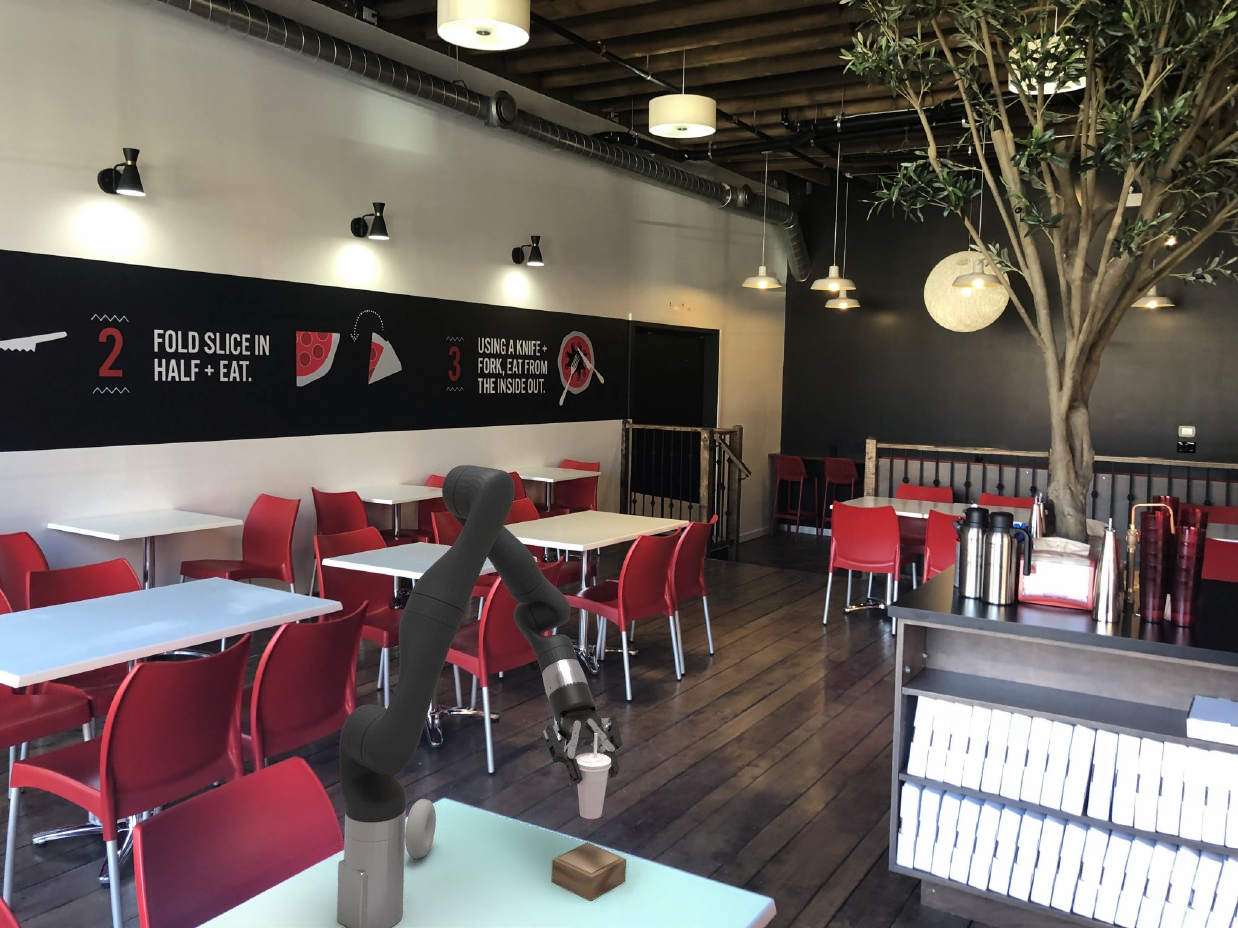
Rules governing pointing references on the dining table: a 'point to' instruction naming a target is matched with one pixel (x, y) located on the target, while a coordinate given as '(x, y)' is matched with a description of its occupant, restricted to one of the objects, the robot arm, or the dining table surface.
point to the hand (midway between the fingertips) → (596, 778)
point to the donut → (420, 828)
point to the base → (588, 871)
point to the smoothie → (592, 782)
